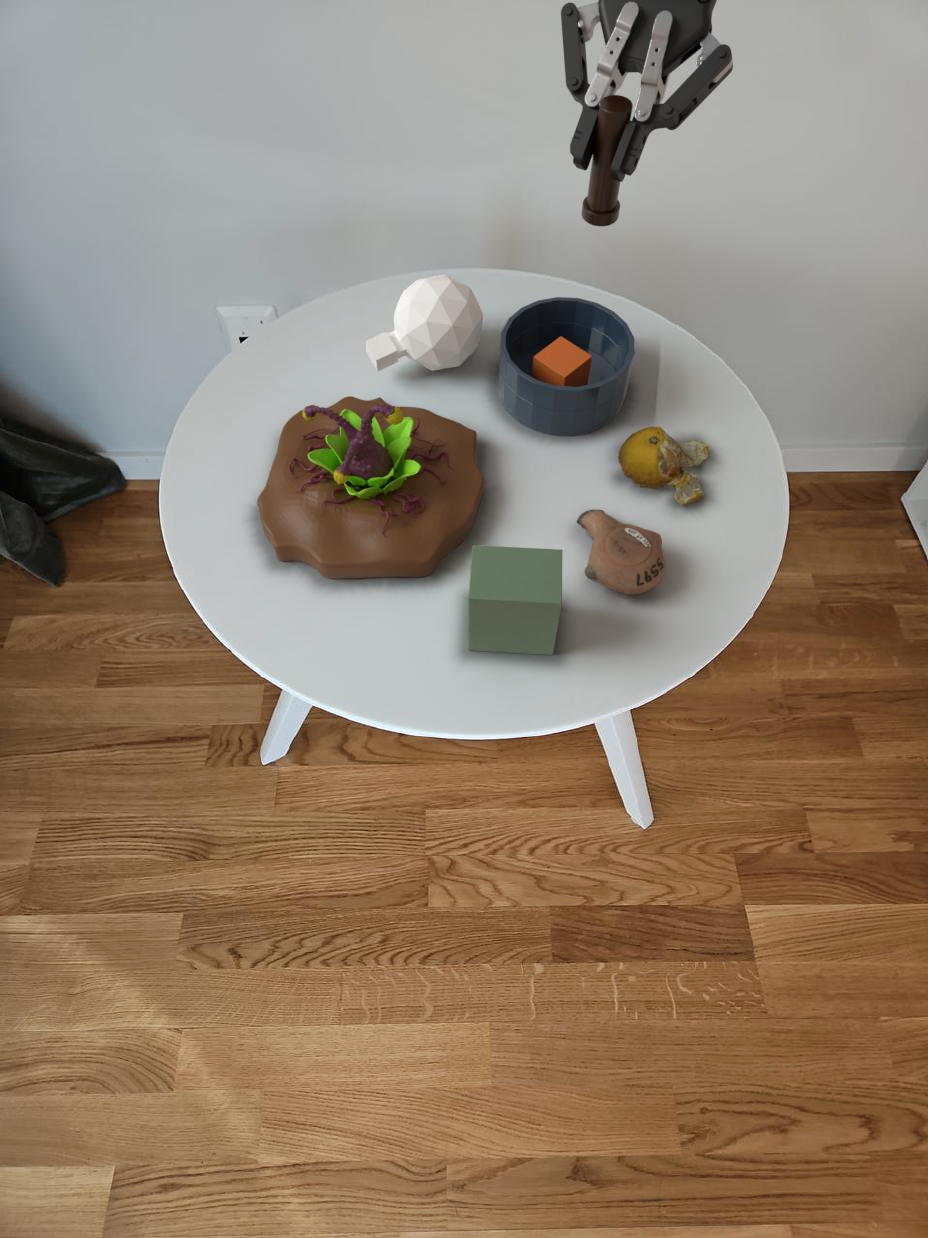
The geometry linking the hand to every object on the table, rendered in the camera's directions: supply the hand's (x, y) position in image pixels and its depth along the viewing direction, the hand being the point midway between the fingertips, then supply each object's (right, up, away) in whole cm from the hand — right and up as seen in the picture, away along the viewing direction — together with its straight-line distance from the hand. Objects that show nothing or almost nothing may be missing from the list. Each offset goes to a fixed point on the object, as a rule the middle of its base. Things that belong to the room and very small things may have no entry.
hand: (598, 171), depth 68 cm
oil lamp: (+3, -29, +11) cm, 31 cm away
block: (-1, -11, +21) cm, 24 cm away
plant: (-18, -22, +15) cm, 33 cm away
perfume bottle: (-14, -7, +24) cm, 29 cm away
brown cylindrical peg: (+1, -1, +5) cm, 5 cm away
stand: (-6, -34, +8) cm, 36 cm away
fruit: (+9, -20, +16) cm, 28 cm away
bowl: (0, -11, +22) cm, 25 cm away
